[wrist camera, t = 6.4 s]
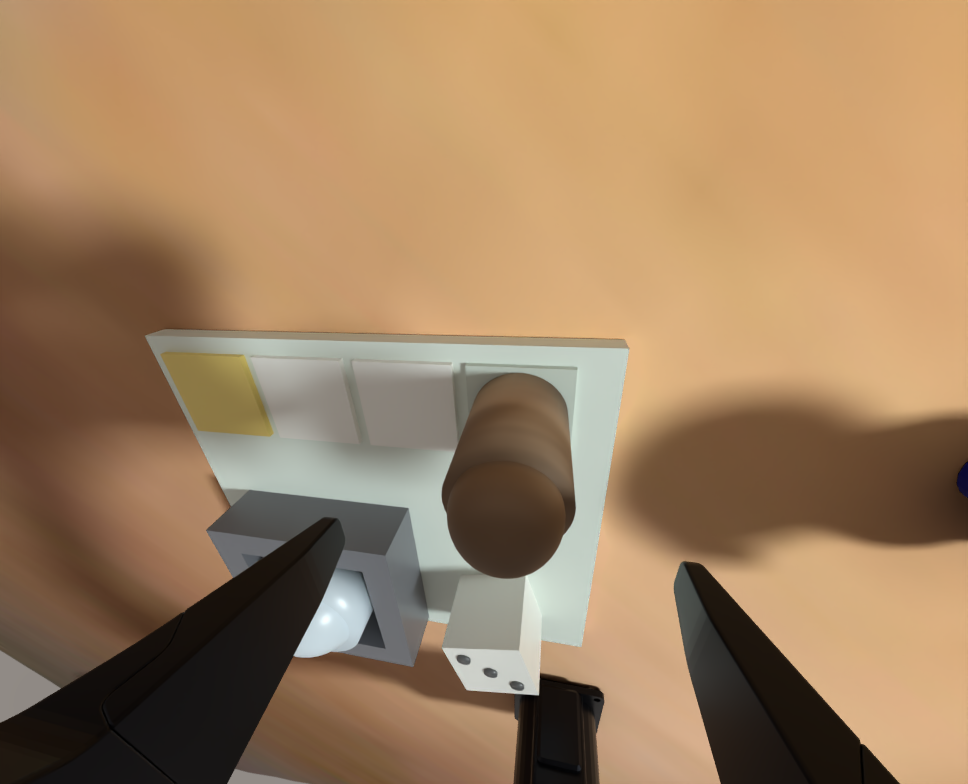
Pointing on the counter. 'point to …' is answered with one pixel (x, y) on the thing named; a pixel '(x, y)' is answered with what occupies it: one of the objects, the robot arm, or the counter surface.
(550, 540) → the pawn
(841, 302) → the counter surface
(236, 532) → the base
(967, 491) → the toy
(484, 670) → the die
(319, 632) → the dome
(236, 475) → the board
